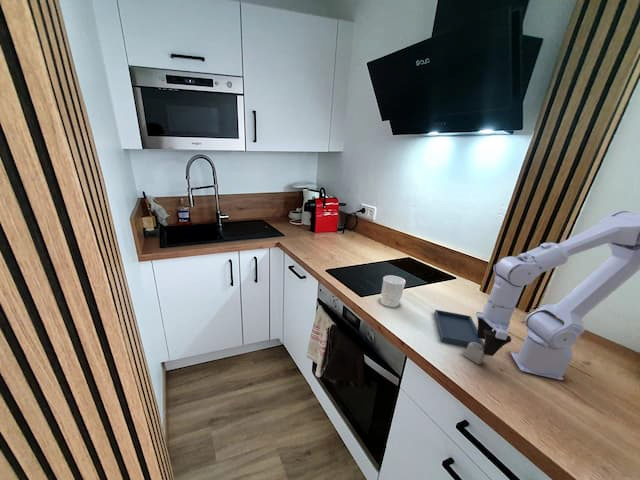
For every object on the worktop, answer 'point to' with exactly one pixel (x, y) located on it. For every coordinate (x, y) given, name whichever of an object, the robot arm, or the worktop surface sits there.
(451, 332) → the tray
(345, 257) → the worktop surface
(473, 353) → the lighter
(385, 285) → the white cup
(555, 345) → the robot arm
